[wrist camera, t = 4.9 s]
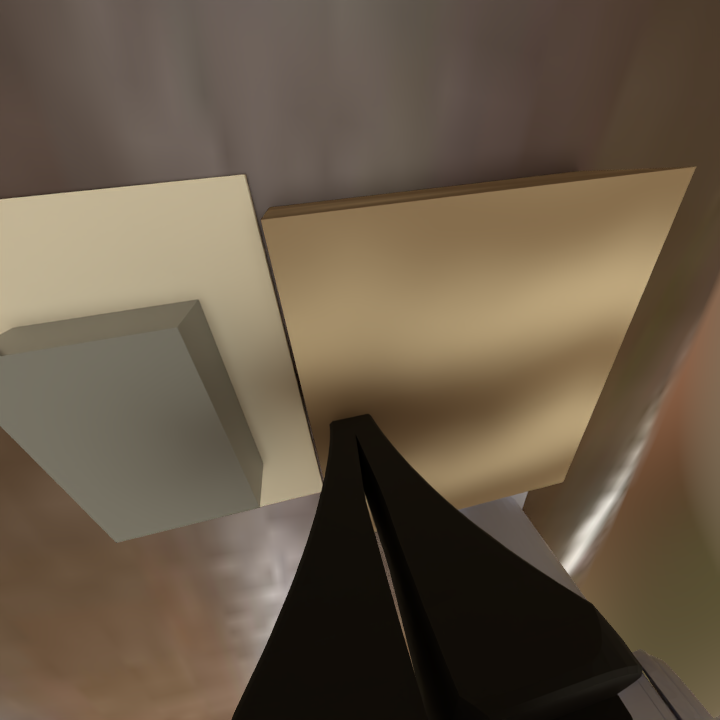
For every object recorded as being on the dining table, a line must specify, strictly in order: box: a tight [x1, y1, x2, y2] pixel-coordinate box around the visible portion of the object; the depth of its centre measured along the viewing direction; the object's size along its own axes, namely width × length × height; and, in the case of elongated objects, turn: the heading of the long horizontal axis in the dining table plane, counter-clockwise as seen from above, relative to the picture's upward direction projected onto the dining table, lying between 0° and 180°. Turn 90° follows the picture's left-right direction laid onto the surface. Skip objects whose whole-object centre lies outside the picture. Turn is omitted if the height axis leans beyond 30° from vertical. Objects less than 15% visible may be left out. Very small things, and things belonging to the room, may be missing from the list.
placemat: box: [0, 174, 323, 507], centre depth 13 cm, size 16×10×1 cm, turn 5°
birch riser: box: [261, 167, 696, 532], centre depth 13 cm, size 14×12×4 cm
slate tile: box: [0, 299, 263, 543], centre depth 12 cm, size 9×6×2 cm, turn 5°
